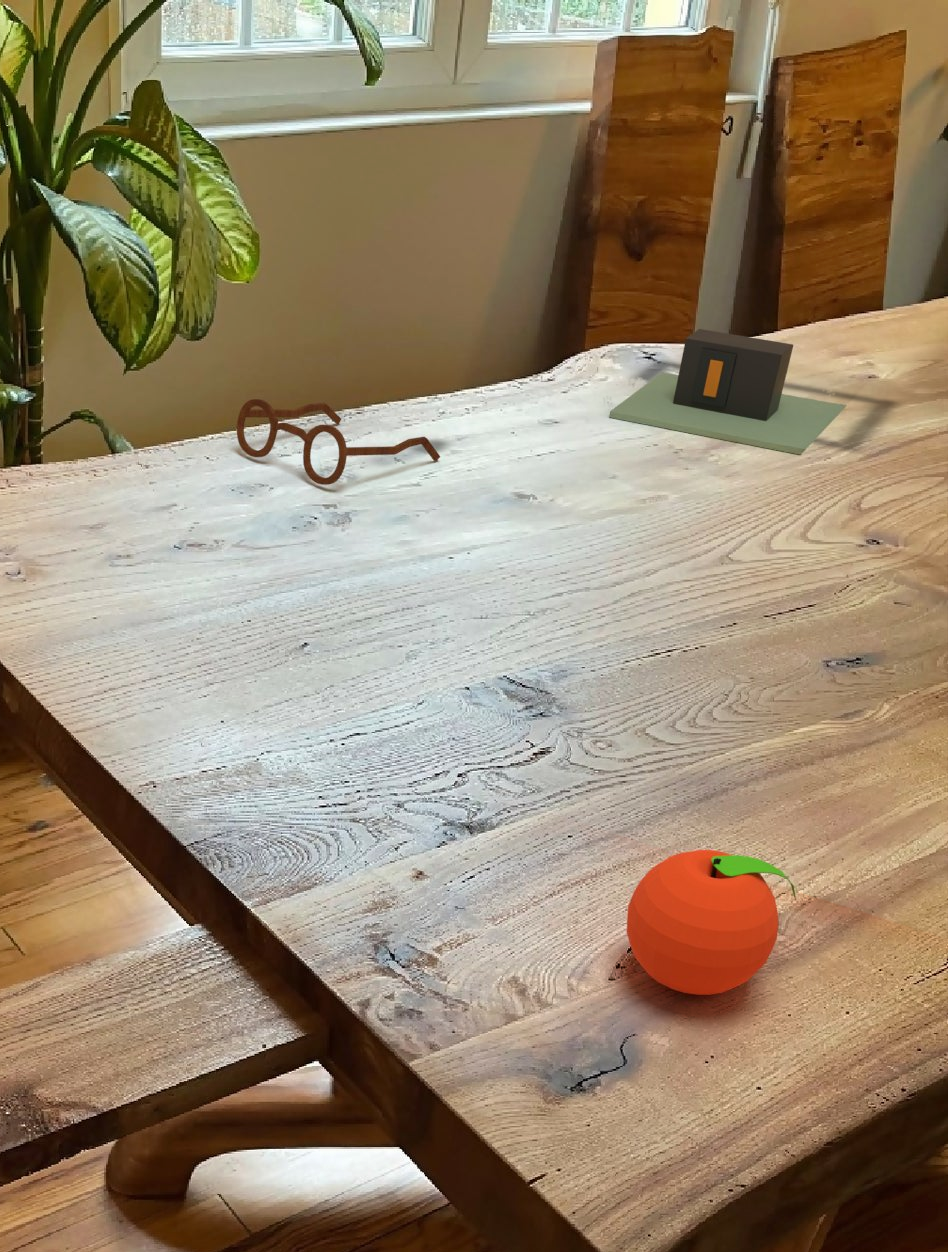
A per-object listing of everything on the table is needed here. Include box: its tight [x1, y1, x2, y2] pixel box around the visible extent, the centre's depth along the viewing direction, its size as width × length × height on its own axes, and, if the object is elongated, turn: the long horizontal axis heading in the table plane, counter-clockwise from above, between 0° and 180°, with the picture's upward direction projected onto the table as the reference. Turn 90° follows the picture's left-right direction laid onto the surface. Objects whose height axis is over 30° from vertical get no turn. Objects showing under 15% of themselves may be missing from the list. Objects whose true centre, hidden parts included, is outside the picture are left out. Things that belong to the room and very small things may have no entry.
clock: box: [673, 328, 794, 421], centre depth 139 cm, size 6×4×9 cm
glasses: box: [236, 398, 441, 486], centre depth 128 cm, size 13×13×5 cm
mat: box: [608, 371, 848, 456], centre depth 140 cm, size 22×15×1 cm
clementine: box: [626, 849, 797, 996], centre depth 70 cm, size 8×7×7 cm
